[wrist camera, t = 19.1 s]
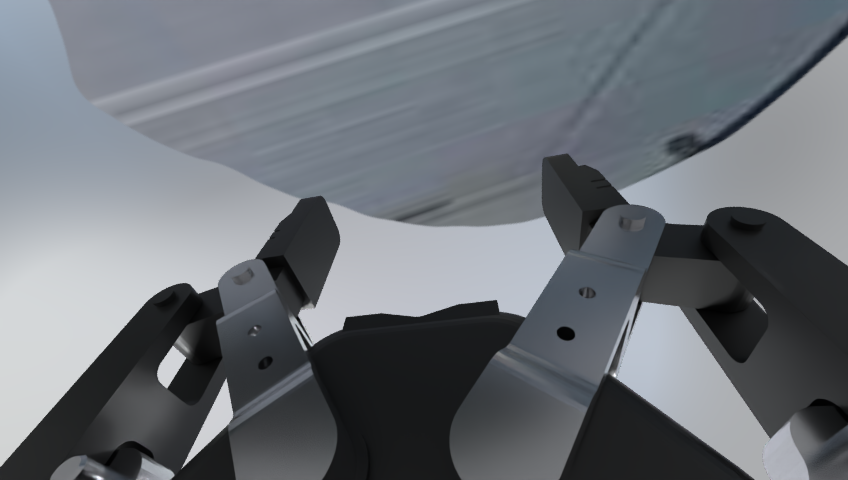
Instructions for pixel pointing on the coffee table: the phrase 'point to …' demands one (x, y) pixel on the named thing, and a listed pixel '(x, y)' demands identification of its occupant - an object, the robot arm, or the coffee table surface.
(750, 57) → the coffee table surface
